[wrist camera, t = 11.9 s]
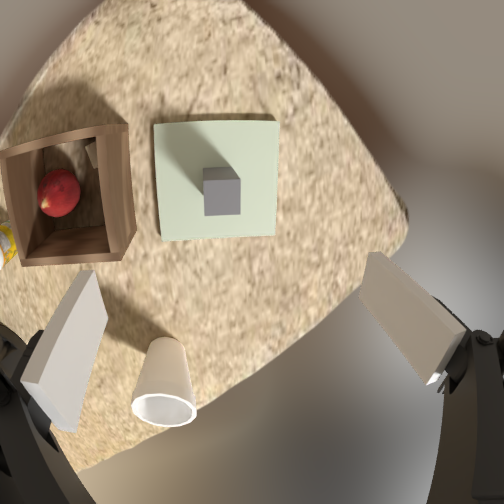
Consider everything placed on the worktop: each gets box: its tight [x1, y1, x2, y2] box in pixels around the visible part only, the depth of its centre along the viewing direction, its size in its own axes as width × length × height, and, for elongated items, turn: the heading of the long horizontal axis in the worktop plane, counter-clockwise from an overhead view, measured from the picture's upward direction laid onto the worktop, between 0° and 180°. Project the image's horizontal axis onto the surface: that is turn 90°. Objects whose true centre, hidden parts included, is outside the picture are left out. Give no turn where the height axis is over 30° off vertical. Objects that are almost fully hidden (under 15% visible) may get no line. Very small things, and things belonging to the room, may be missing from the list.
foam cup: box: [131, 337, 196, 427], centre depth 39 cm, size 10×9×13 cm
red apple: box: [37, 169, 81, 217], centre depth 27 cm, size 6×6×8 cm
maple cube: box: [85, 141, 98, 169], centre depth 29 cm, size 3×3×3 cm
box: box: [0, 124, 137, 267], centre depth 27 cm, size 14×14×9 cm
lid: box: [154, 120, 280, 242], centre depth 31 cm, size 15×15×10 cm
